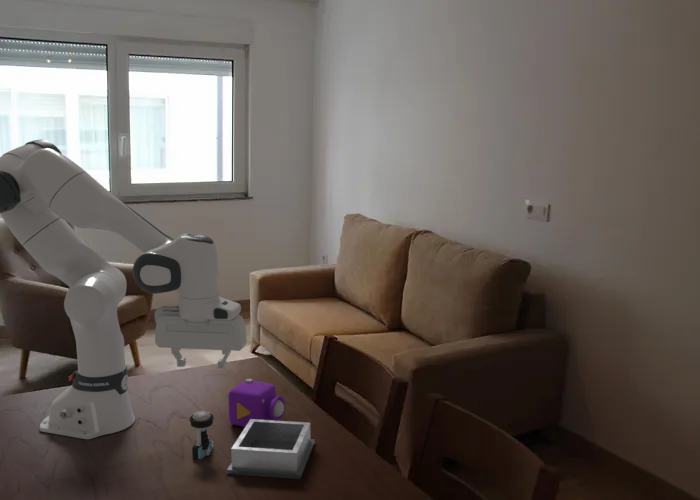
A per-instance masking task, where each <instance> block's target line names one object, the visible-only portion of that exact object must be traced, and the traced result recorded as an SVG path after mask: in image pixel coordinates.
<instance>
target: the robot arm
mask: <svg viewBox="0 0 700 500" xmlns="http://www.w3.org/2000/svg"><path fill="white" fill-rule="evenodd" d="M0 216H1V217H2V220H3V221H4V223H5V224H6V226H7V228H8V229H9V231H10V232H11V233H12V235H13V236H14V237H15V239H16V240H17V241H18V242H19V244H20V245H21V246H22V247H23V248H24V249H25V251H27V252H28V254H29V255H30V256H31V257H32V258H33V260H35V262H36V263H37V264H38V265H39V266H40V267H41V268H42V269H43V270H44V272H46V273H48V274H50V275H53V276H54V277H56V278H57V279H58V280H60V281H62V282H63V283H64V284H65V285H67V286H68V290H67V292H66V293H65V298H64V301H63V307H64V308H63V309H64V311H65V313H66V315H67V317H68V318H69V320H70V325H71V328H72V332H73V335H74V339H75V345H76V355H77V357H76V358H77V370H75V371H73V372H72V374H71V375H70V376H68V377H67V379H68V382H71V381H72V384H71V385H70V386H69V387H68V388H66V389H65V390H64V391H63V392H61V393H60V394H59V395H58V396H57V397H55V398H54V399H53V401H52V402H51V405H50V408H49V413H48V415H47V416H46V417H45V418H44V419H43V420H41V422H40V425H39V431H40V432H43V433H49V434H54V435H59V436H66V437H70V438H71V437H72V438H75V439H81V440H82V439H83V440H91V439H94V438H95V439H96V438H98V437H100V436H104V435H109V434H114V433H117V432H120V431H124V430H126V429H128V428H129V427H131V426H132V425H133V424H134V422H135V421H136V417H135V415H134V412H133V409H132V405H131V401H130V396H129V390H128V389H129V373H128V366H127V365H126V355H125V339H124V338H125V337H124V335H123V333H122V331H121V327H120V322H119V317H118V308H119V304H120V303H121V302H122V301H123V300H124V298H125V296H126V293H127V287H128V286H127V285H128V284H127V279H126V276H125V274H124V273H123V271H122V270H120V269H118V268H117V267H115V266H113V265H111V264H110V262H108V261H107V260H106V259H105V258H104V257H102V256H101V255H100V254H98V252H96V251H95V250H94V249H92V248H91V247H90V246H89V245H88V244H87V243H86V242H85V241H84V240H83V239H82V238H81V237H80V235H78V234H77V232H76V231H75V230H74V229H73V228H72V227H71V225H72V226H73V227H76V228H80V229H94V230H103V231H109V232H111V233H115V234H117V235H119V236H120V237H122V238H124V239H125V240H127V241H128V242H129V243H130V244H132V245H133V246H134V247H136V248H137V249H138V250H139V251H141V252H143V253H142V254H140V256H138V257H137V258H136V259H135V261H134V263H133V266H132V277H133V280H134V282H135V284H136V285H137V286H138V287H139V289H141V290H142V291H143V292H145V293H148V294H153V295H155V294H164V293H169V292H173V291H175V292H177V294H178V295H177V296H178V298H177V299H178V300H177V301H178V305H171V306H167V305H161V306H160V307H158V308H157V309H156V310H155V311H154V322H155V323H156V324H155V333H154V343H155V345H156V346H157V347H158V348H163V349H164V348H167V349H169V348H170V349H171V350H170V351H171V354H172V356H173V357H174V358H175V361H176V367H177V368H184V367H186V366H187V362H186V361H187V358H186V357H184V356H182V354H181V352H180V350H181V349H189V350H209V351H212V350H213V351H221V355H223V357H222V358H220V359H219V360H217V368H218V369H219V370H225V369H226V368H227V359H228V358H229V357H230V355H231V353H232V351H233V352H234V351H235V352H236V351H238V352H239V351H241V350H243V348H245V346H246V344H247V329H246V323H245V320H244V318H243V316H242V315H240V313H241V310H242V306H241V304H240V303H238V302H236V301H233V300H230V299H227V298H225V297H222V296H220V290H219V287H218V277H219V273H220V272H219V261H218V253H217V252H218V251H217V248H216V243H215V242H214V240H213V239H212V238H210V237H209V236H208V235H205V234H201V233H194V232H193V233H190V232H189V233H187V232H186V233H182V234H180V235H179V236H178V237H176V238H174V237H171V236H170V235H167V234H166V233H164V232H163V231H162V230H160V229H158V228H157V227H156V226H155V225H153V224H152V223H151V222H150V221H148V220H147V219H146V218H145V217H143V215H141V214H140V213H138V212H136V211H135V210H134V209H133V208H131V207H129V206H128V205H127V204H126V203H124V202H123V201H121V200H120V199H119V198H117V196H115V195H113V194H112V193H111V192H110V191H109V190H107V188H106V187H104V186H103V185H102V184H101V183H100V182H98V181H97V179H95V178H94V177H92V175H91V174H89V173H88V172H87V171H86V170H85V169H84V168H83V167H81V166H80V165H78V163H76V162H74V161H73V160H71V159H70V158H69V157H67V156H65V155H64V154H63V153H62V152H61V149H59V148H58V147H57V146H56V145H55V144H54V143H52V142H51V141H49V140H47V139H35V140H31V141H28V142H26V143H25V144H24V145H22V146H21V145H20V146H18V147H16V148H14V149H10V150H9V151H7V152H5V153H3V154H2V155H0Z"/></svg>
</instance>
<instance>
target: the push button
mask: <svg viewBox="0 0 700 500" xmlns="http://www.w3.org/2000/svg"><path fill="white" fill-rule="evenodd" d="M214 418H215V417H214V415H213V414H212V413H210V411H208V410H202V409H201V410H197V411H195V412H193V413H192V415H191V416H190V417H189V422H190V426H191V427H192V428H194V429H195V441H194V442H195V445H193V446H192V448H191V452H192V454H191V455H192V458H193V459H197V460H203V458H205V457H206V456H209V455H210V454H211V452H212V451H213V450H212V449H213V447H214V444H213V443H214V440H210V438H209V427H211V426H212V424H213V423H214Z"/></svg>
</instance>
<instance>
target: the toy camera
mask: <svg viewBox="0 0 700 500" xmlns="http://www.w3.org/2000/svg"><path fill="white" fill-rule="evenodd" d="M285 407H286V402H285V398H284V397H283V395H279V396H278V395H277V391H276V386H275V385H274V384H272V383H268V382H263V381H257V380H253V379H252V378H247V379H245V381H243V382H241V383H240V384H238V385H236V386H235V387H233V388H232V389H230V390H229V392H228V419H229V423H230V424H231V425H233V426H238V427H243V428H245V427H246V425H247V424H248V422H249V421H250V419H257V420H274V421H281V420H282V418H283V415H284V412H285V409H286V408H285Z"/></svg>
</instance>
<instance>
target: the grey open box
mask: <svg viewBox="0 0 700 500" xmlns="http://www.w3.org/2000/svg"><path fill="white" fill-rule="evenodd" d="M314 445H315V439H314V438H313V439H311V422H307V421H306V422H304V421H289V420H287V421H286V420H284V421H283V420H279V421H274V420H273V419H272V420H257V419H250V421H249V422H248V424H247V425H246V427H243V430H242V431H241V433H240V435H239V436H238V438H237V439H236V441H235V442H234V444H233V445H232V447H230V449H231V451H230V452H231V463H230V465H229V466H228V468H227V469H226V474H227V475H236V476H237V475H238V476H250V477H251V476H252V477H262V478H263V477H265V478H277V479H278V478H279V479H289V480H290V479H291V480H301V477H302V475H303V473H304V470H305V469H306V465H307V463H308V461H309V458H310V455H311V452H312V450H313V448H314Z"/></svg>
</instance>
